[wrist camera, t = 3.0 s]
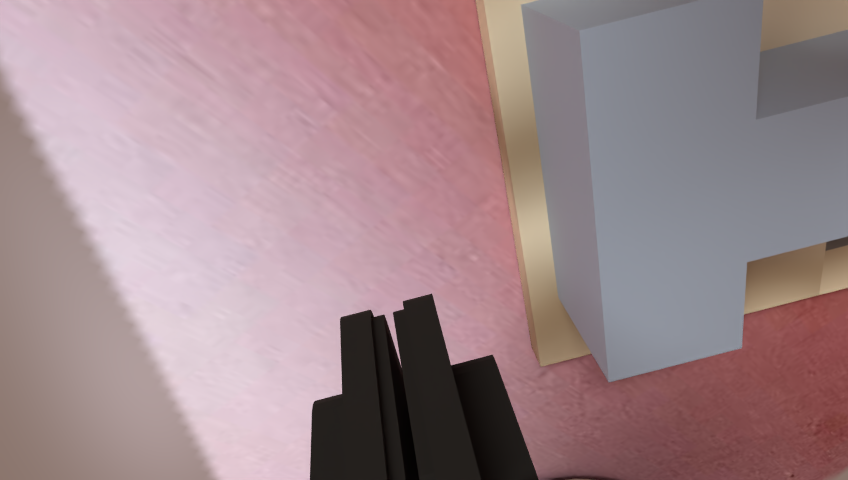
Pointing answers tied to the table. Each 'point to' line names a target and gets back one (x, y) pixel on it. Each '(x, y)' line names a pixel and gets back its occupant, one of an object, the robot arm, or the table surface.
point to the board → (518, 141)
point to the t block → (679, 165)
